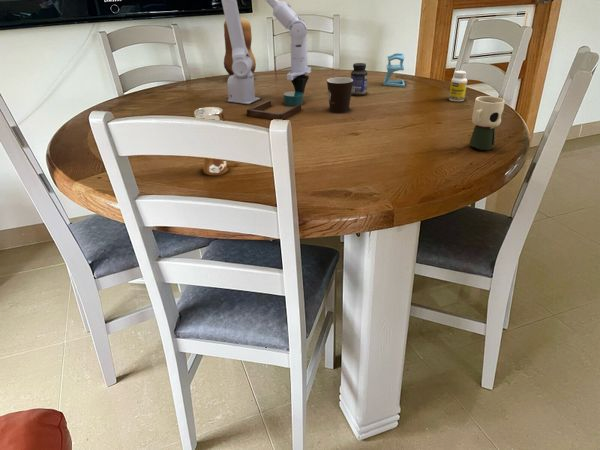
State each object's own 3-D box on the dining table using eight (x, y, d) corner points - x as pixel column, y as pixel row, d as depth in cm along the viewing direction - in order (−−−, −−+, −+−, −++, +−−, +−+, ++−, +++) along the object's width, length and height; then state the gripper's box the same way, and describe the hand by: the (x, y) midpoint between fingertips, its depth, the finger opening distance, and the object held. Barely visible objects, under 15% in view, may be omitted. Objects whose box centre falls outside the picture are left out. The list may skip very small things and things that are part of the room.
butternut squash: (263, 78, 202) (259, 16, 190) (243, 84, 192) (238, 19, 180) (238, 74, 209) (233, 14, 196) (218, 81, 199) (212, 18, 187)
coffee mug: (350, 114, 153) (351, 83, 148) (324, 113, 154) (324, 82, 149) (354, 104, 162) (355, 75, 157) (329, 103, 164) (330, 75, 159)
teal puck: (280, 104, 164) (279, 94, 163) (290, 100, 170) (289, 90, 168) (297, 107, 161) (297, 97, 160) (306, 102, 167) (306, 92, 165)
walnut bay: (247, 115, 154) (246, 109, 153) (268, 105, 164) (268, 100, 163) (281, 120, 148) (281, 114, 147) (301, 110, 158) (301, 104, 157)
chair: (383, 82, 191) (385, 51, 185) (403, 82, 190) (406, 51, 184) (383, 86, 184) (385, 55, 178) (404, 87, 183) (407, 55, 177)
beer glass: (203, 166, 117) (195, 107, 109) (230, 164, 117) (224, 105, 110) (200, 177, 111) (191, 115, 103) (229, 175, 111) (222, 114, 104)
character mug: (482, 156, 118) (491, 106, 112) (457, 149, 123) (465, 100, 117) (504, 146, 124) (514, 98, 118) (480, 139, 129) (488, 93, 123)
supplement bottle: (447, 101, 164) (451, 72, 159) (449, 97, 168) (453, 69, 163) (463, 102, 162) (468, 73, 157) (465, 98, 166) (469, 70, 162)
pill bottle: (367, 96, 172) (368, 65, 167) (350, 96, 172) (352, 65, 167) (365, 92, 178) (367, 62, 172) (349, 92, 178) (350, 62, 172)
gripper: (298, 62, 154) (299, 102, 161) (318, 54, 165) (318, 93, 172) (280, 60, 157) (282, 100, 164) (301, 53, 168) (302, 91, 175)
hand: (299, 96), depth 168 cm, fingers closed
